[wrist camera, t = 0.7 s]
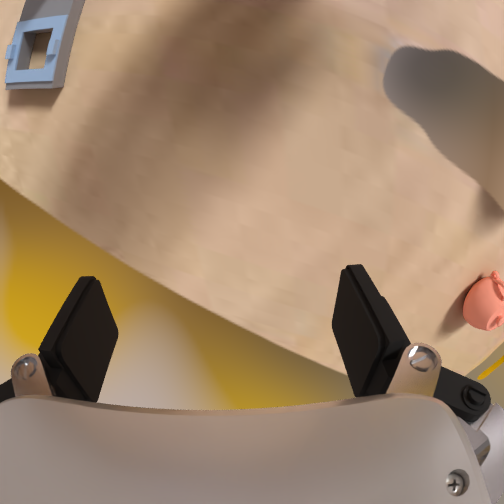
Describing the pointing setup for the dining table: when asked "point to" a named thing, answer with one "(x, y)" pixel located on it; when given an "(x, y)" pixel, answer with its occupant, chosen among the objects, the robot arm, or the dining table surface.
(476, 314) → the pink rounded piece
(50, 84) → the grey slotted holder
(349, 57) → the dining table surface
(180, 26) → the dining table surface
